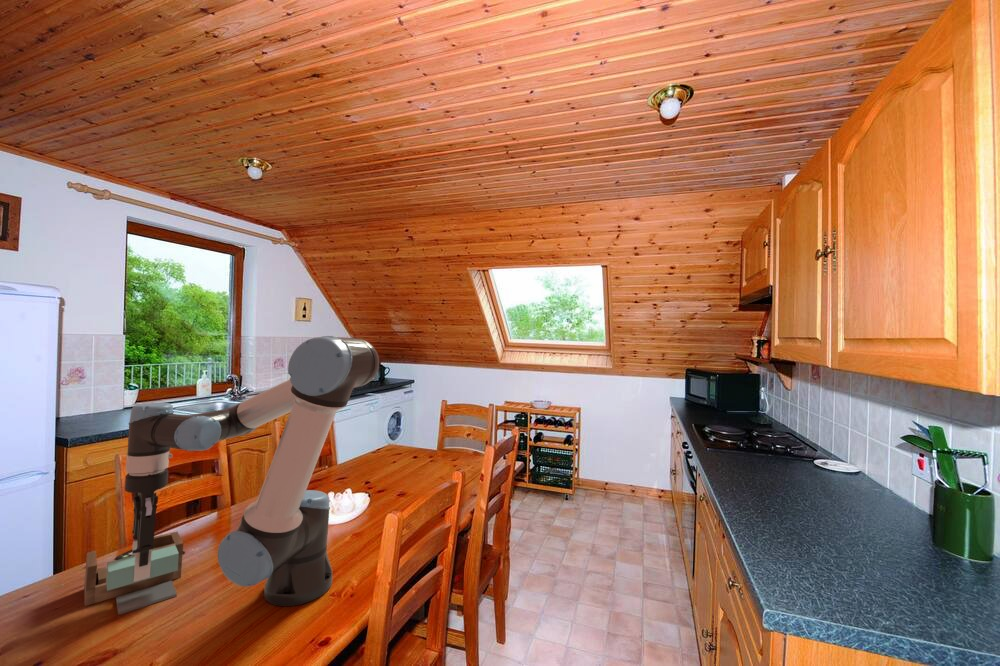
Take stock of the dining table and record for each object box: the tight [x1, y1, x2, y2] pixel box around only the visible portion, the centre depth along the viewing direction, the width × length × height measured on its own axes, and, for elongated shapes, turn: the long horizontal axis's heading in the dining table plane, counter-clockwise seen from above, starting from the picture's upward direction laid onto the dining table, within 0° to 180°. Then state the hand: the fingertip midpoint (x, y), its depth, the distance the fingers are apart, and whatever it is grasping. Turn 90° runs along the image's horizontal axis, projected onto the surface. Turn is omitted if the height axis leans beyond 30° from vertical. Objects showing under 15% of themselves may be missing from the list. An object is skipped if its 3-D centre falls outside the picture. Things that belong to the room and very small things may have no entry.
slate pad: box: [115, 580, 178, 616], centre depth 94 cm, size 7×10×1 cm
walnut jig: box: [83, 531, 184, 607], centre depth 99 cm, size 17×8×8 cm, turn 136°
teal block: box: [106, 545, 179, 591], centre depth 93 cm, size 12×5×4 cm, turn 136°
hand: (140, 573), depth 93 cm, fingers open, 5 cm apart
